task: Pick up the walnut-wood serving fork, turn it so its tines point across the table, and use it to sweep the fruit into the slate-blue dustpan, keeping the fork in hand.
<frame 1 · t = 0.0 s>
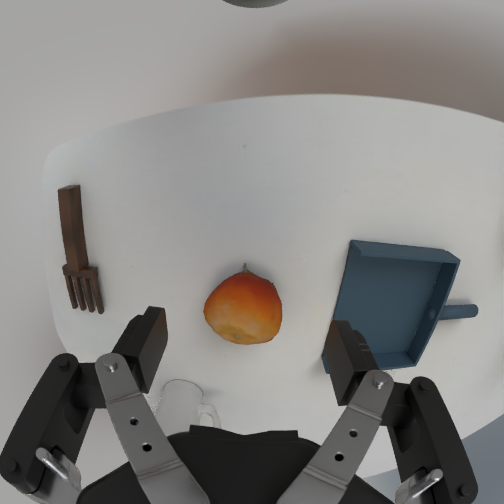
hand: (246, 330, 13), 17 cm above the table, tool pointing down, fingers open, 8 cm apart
fruit: (245, 293, 32), on the table
dustpan: (384, 306, 32), on the table
mug: (193, 391, 39), on the table
fork: (77, 225, 29), on the table
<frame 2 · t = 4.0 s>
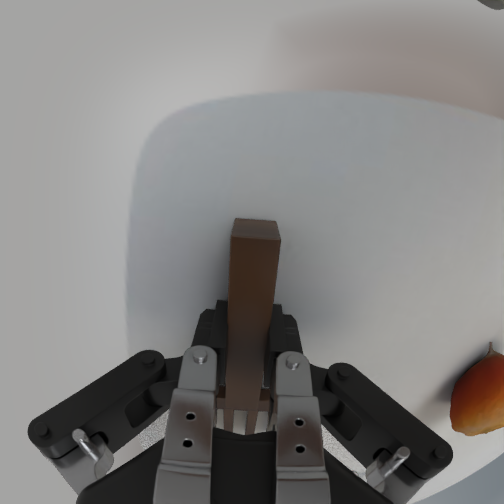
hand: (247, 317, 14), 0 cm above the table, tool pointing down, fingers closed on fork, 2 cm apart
fruit: (471, 372, 17), on the table
fork: (248, 314, 14), on the table, touching gripper
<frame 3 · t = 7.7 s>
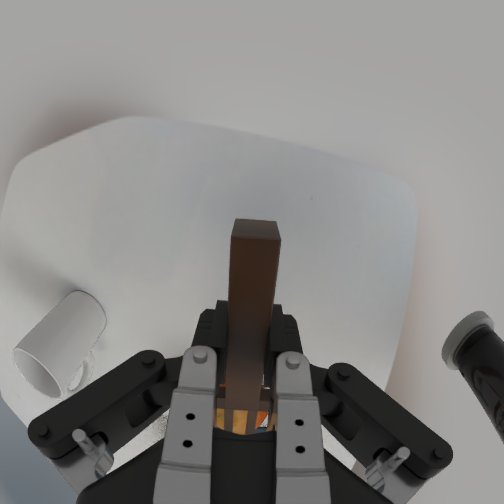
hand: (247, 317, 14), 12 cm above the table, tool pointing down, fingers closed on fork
fruit: (237, 382, 33), on the table
mug: (91, 322, 30), on the table
fork: (248, 315, 14), point 12 cm above the table, touching gripper
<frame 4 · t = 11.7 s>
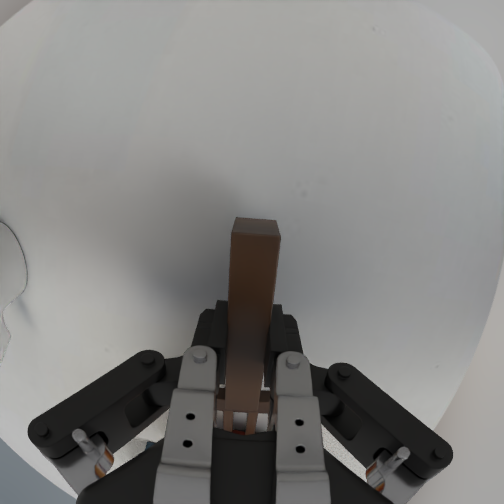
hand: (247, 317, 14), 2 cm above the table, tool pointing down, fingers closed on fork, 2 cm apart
mug: (12, 276, 15), on the table
fork: (248, 314, 14), point 1 cm above the table, touching fruit, gripper
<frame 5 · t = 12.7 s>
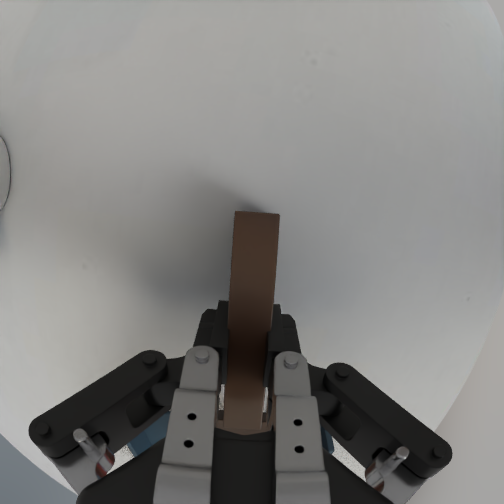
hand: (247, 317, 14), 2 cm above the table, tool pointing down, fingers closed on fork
dustpan: (227, 452, 22), on the table
fork: (248, 320, 13), point 2 cm above the table, tilted 21°, touching gripper
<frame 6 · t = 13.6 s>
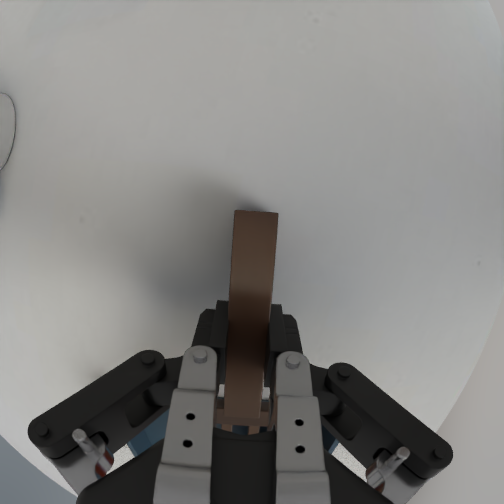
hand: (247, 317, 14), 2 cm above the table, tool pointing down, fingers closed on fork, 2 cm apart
dustpan: (227, 440, 21), on the table
fork: (248, 313, 14), point 1 cm above the table, tilted 17°, touching fruit, gripper
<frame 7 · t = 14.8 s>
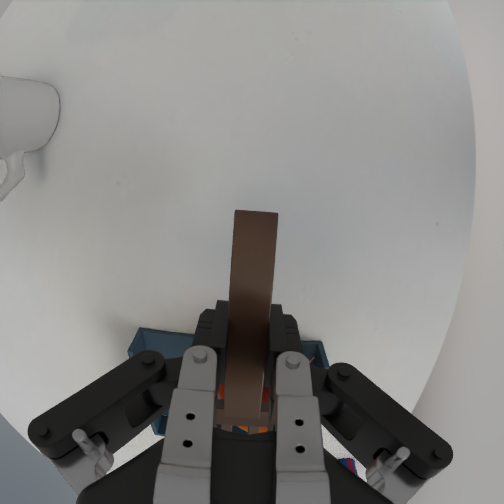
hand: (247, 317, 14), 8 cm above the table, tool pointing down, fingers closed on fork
dustpan: (227, 386, 26), on the table
mug: (39, 133, 17), on the table
fork: (248, 313, 14), point 7 cm above the table, tilted 18°, touching gripper
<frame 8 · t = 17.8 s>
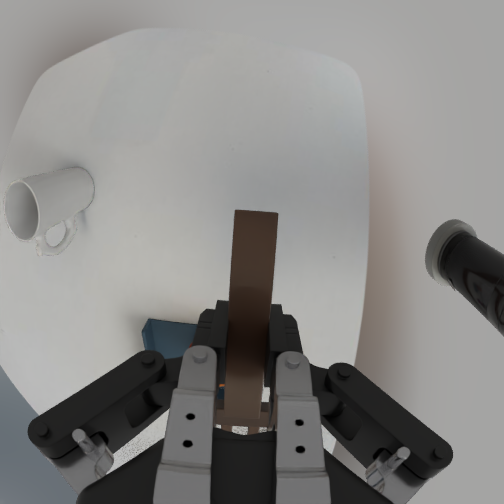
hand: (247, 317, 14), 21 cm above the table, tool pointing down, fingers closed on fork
dustpan: (203, 358, 42), on the table
mug: (80, 199, 33), on the table
fork: (248, 313, 14), point 21 cm above the table, tilted 18°, touching gripper
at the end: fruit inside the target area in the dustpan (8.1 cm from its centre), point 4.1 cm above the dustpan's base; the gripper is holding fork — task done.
